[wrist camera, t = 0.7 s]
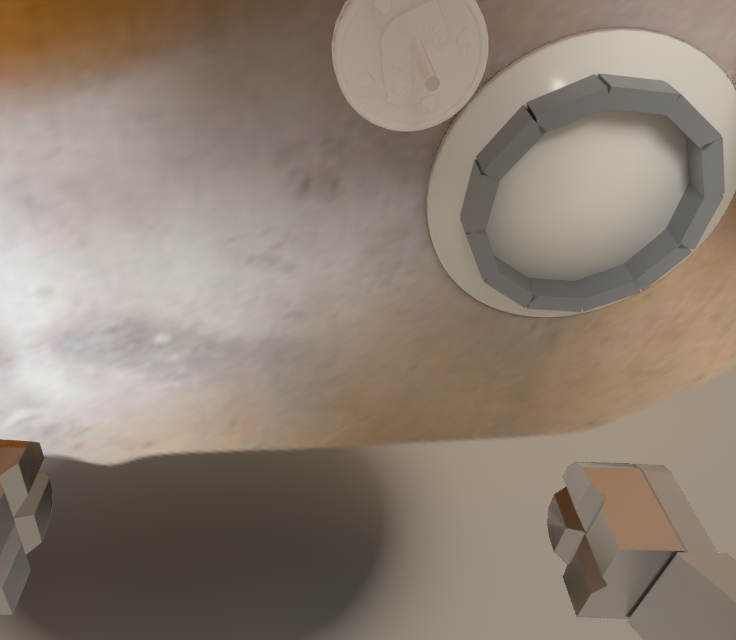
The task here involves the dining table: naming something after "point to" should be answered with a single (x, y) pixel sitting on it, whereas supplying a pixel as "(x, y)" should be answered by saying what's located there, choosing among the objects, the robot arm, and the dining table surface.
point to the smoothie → (409, 59)
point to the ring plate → (584, 172)
